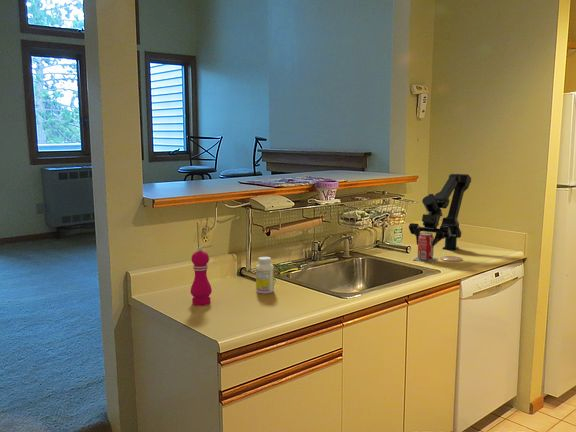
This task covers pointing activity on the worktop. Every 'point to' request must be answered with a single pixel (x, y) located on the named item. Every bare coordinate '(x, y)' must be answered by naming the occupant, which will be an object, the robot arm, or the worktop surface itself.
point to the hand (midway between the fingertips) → (424, 245)
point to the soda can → (425, 246)
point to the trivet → (451, 258)
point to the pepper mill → (200, 279)
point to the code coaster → (425, 260)
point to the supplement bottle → (264, 276)
